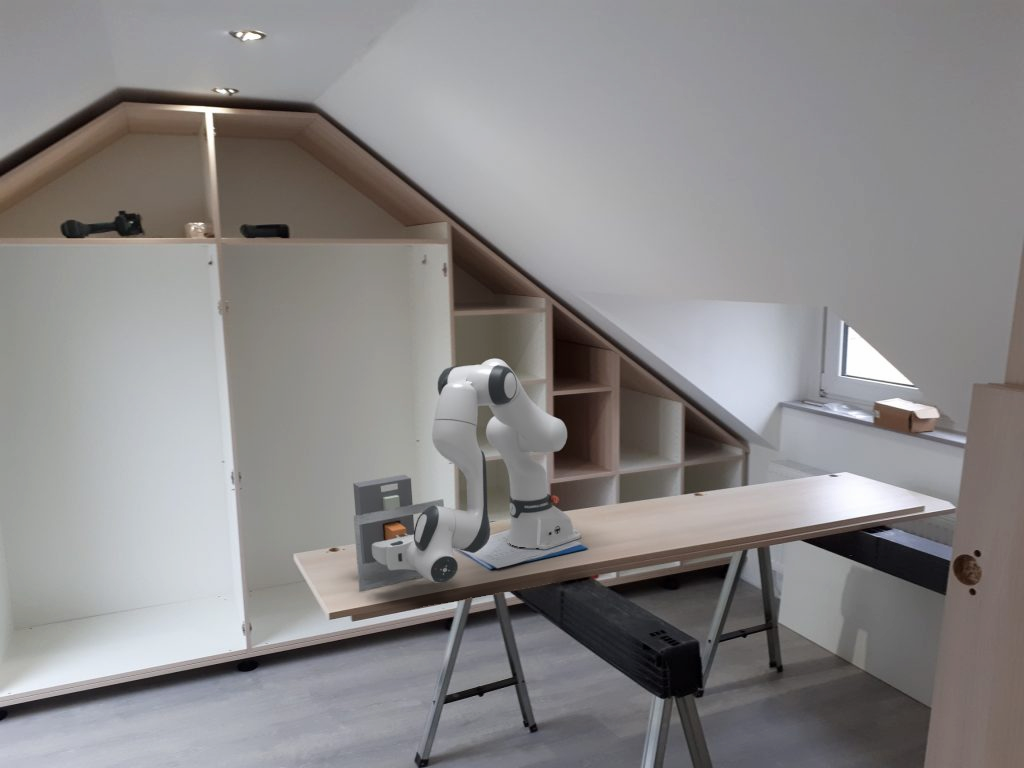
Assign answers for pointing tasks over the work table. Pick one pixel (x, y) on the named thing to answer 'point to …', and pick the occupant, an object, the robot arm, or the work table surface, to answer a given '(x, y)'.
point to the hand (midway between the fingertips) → (400, 537)
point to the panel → (381, 508)
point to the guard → (375, 571)
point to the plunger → (393, 530)
